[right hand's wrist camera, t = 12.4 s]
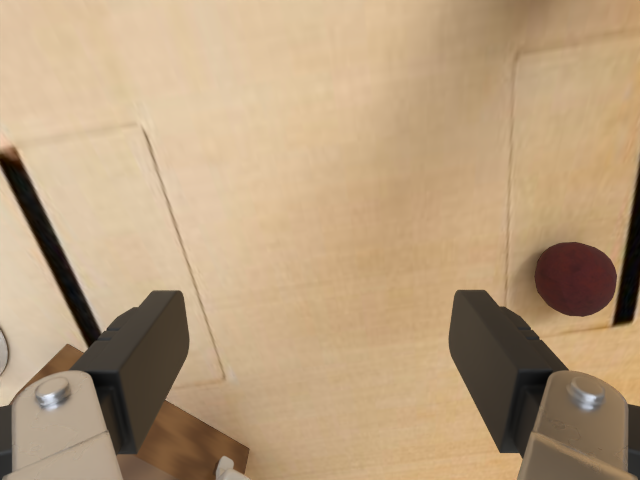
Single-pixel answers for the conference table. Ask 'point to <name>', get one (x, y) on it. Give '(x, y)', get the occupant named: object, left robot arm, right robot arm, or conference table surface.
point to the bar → (165, 439)
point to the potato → (575, 278)
